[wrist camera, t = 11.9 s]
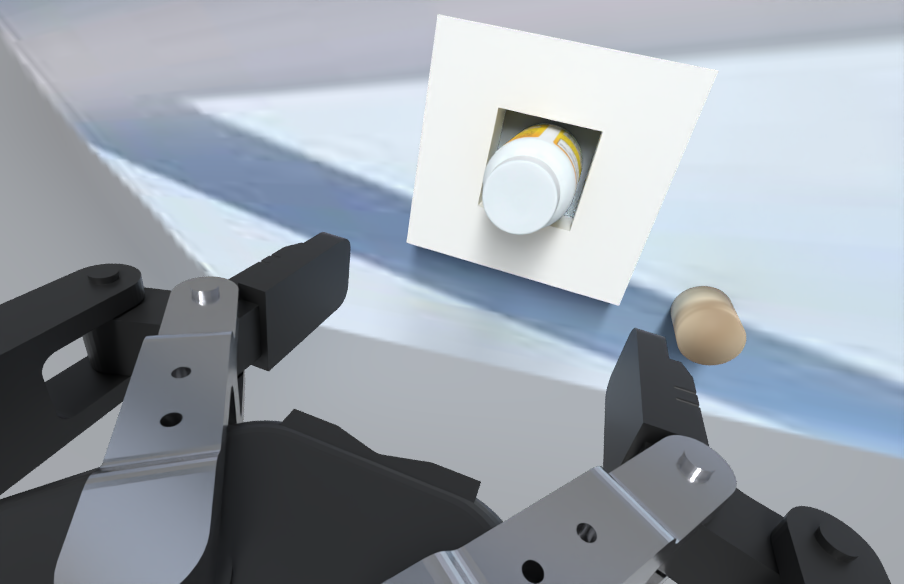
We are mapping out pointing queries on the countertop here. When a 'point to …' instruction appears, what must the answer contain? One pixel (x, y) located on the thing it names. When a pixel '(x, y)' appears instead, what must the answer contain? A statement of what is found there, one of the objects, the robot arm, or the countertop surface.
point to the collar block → (565, 100)
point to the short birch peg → (707, 326)
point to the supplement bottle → (532, 179)
